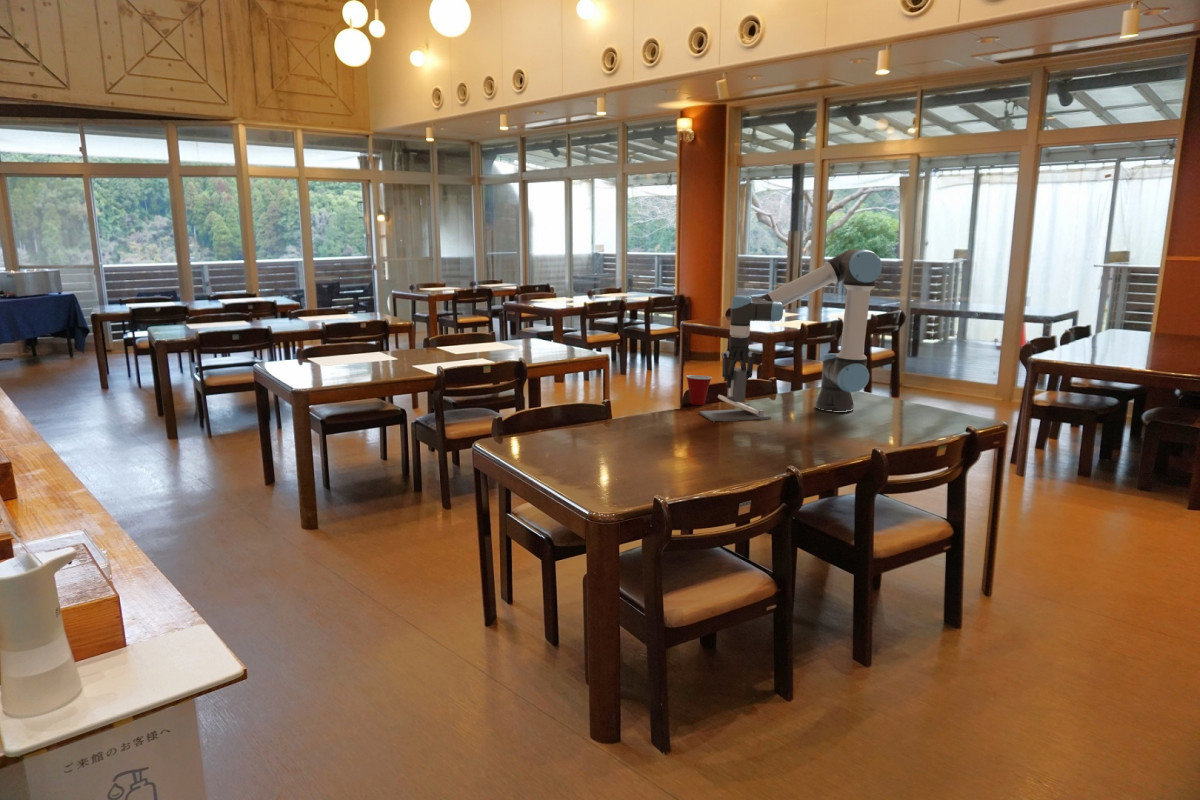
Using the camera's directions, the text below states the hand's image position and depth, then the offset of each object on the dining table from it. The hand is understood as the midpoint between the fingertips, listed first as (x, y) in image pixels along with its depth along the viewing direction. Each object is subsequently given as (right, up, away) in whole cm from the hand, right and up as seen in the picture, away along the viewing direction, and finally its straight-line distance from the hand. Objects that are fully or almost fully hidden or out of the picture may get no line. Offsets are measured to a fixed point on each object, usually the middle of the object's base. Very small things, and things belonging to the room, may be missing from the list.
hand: (736, 395), depth 305 cm
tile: (+8, -6, +3) cm, 10 cm away
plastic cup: (-12, -3, +23) cm, 26 cm away
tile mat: (0, -8, +2) cm, 8 cm away
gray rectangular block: (0, -2, 0) cm, 2 cm away
